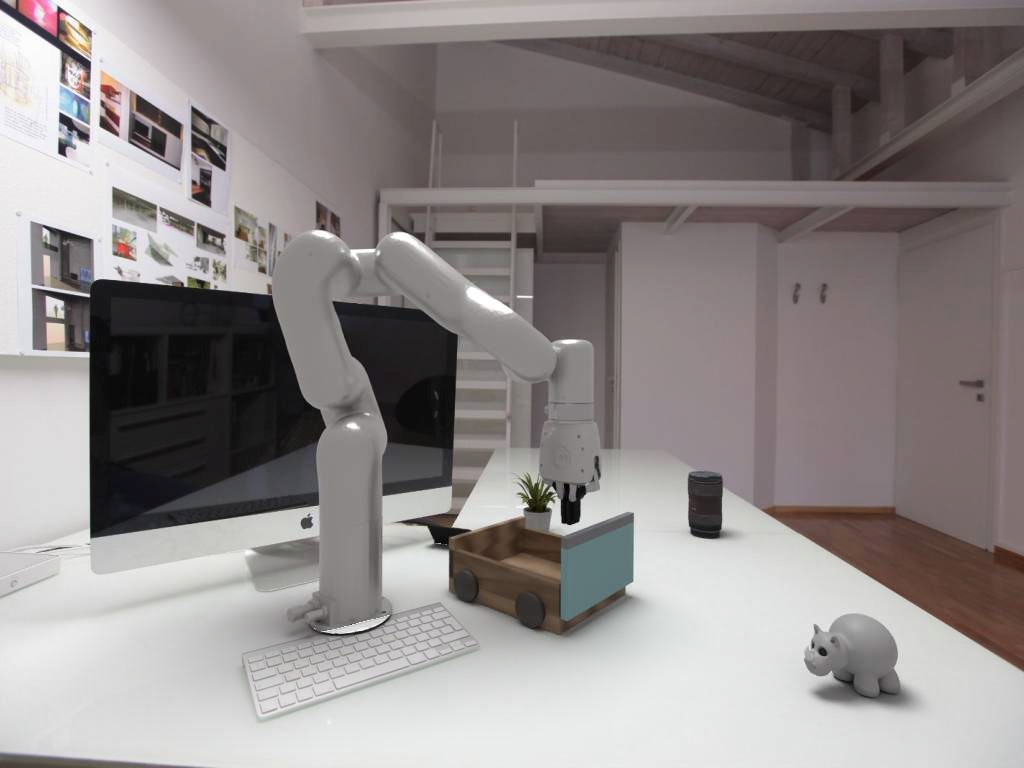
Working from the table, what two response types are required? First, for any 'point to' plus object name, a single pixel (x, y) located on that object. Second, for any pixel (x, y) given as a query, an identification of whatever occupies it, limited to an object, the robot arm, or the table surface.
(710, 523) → the camera lens
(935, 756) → the table surface
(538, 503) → the house plant
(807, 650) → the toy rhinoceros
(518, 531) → the hand cart
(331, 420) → the robot arm
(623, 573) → the panel
